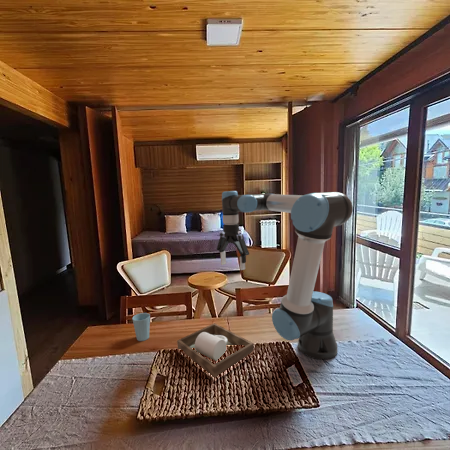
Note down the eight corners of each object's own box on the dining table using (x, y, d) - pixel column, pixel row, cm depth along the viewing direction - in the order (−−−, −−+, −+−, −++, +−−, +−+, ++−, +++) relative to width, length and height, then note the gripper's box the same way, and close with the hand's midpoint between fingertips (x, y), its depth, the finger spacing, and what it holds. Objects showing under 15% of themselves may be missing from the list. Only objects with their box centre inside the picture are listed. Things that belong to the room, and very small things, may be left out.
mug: (213, 365, 100) (212, 345, 99) (195, 355, 106) (193, 336, 105) (233, 349, 109) (232, 331, 108) (214, 341, 116) (213, 324, 115)
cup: (153, 339, 121) (151, 318, 120) (135, 344, 118) (133, 322, 117) (150, 332, 128) (148, 311, 127) (133, 336, 125) (131, 315, 124)
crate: (253, 356, 106) (253, 343, 105) (215, 381, 93) (214, 367, 92) (215, 334, 124) (214, 323, 123) (178, 353, 110) (177, 340, 110)
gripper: (255, 224, 121) (257, 269, 123) (219, 221, 139) (221, 261, 142) (244, 226, 116) (246, 273, 118) (208, 223, 134) (210, 264, 137)
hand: (232, 267), depth 130 cm, fingers open, 13 cm apart
